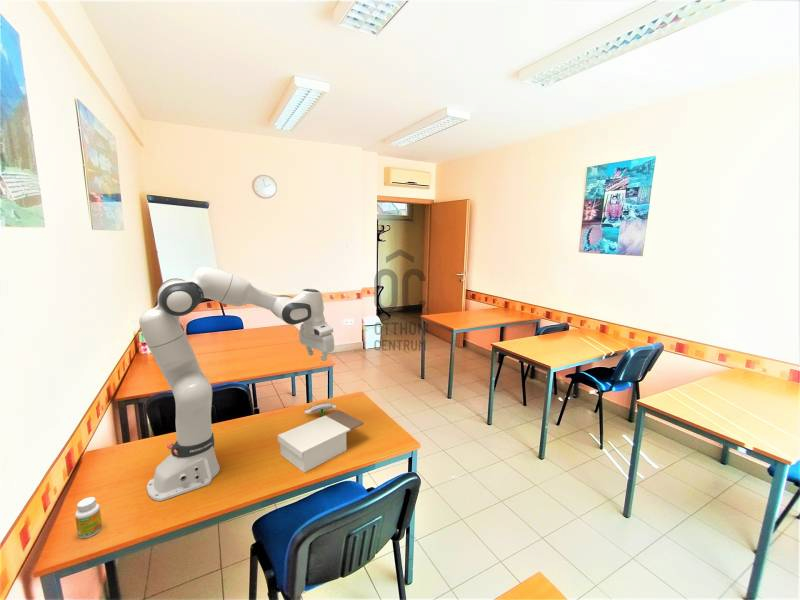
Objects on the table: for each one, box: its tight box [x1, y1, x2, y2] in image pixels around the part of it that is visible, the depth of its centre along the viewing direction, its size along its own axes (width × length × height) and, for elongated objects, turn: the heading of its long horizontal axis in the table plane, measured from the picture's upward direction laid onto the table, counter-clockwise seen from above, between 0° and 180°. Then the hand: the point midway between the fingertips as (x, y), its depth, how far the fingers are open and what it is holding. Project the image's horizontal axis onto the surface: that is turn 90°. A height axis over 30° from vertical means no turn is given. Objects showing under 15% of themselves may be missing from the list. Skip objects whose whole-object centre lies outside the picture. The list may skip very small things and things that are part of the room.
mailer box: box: [279, 432, 348, 473], centre depth 144 cm, size 20×17×8 cm
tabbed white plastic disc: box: [304, 401, 337, 417], centre depth 175 cm, size 15×8×11 cm
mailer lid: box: [277, 409, 365, 459], centre depth 147 cm, size 30×17×3 cm, turn 138°
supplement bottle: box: [74, 496, 103, 539], centre depth 104 cm, size 5×5×10 cm
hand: (317, 357), depth 152 cm, fingers open, 8 cm apart
